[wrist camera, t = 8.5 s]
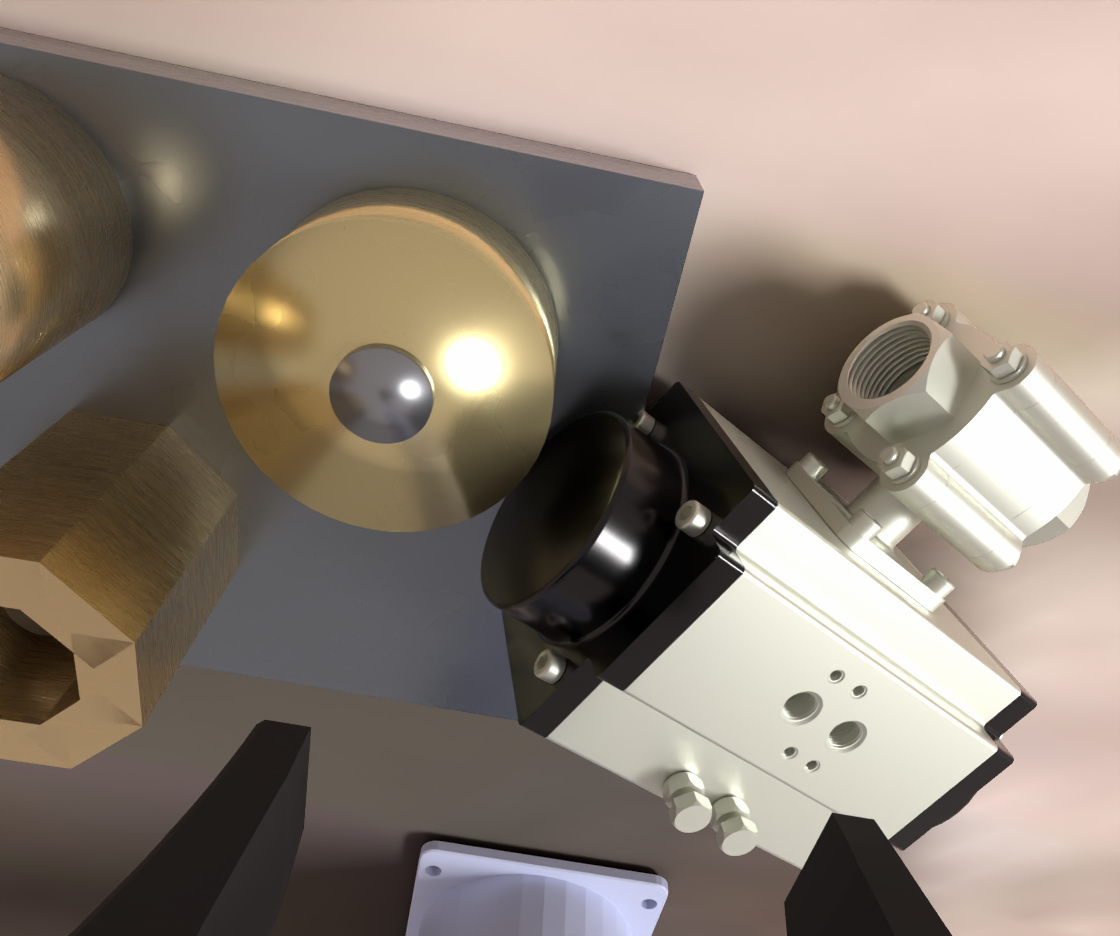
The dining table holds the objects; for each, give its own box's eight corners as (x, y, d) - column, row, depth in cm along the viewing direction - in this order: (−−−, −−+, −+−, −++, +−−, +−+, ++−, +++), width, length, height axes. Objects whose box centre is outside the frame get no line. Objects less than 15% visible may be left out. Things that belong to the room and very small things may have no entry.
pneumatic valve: (1099, 470, 21) (755, 775, 24) (792, 152, 16) (416, 583, 20) (1303, 606, 16) (842, 964, 19) (953, 210, 11) (418, 771, 15)
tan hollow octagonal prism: (239, 615, 21) (146, 779, 17) (31, 582, 21) (-117, 741, 16) (236, 437, 19) (128, 576, 14) (1, 398, 18) (-183, 527, 14)
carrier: (560, 687, 24) (549, 913, 18) (-30, 586, 23) (-243, 793, 17) (695, 175, 17) (748, 275, 11) (-138, -2, 16) (-556, 8, 10)
